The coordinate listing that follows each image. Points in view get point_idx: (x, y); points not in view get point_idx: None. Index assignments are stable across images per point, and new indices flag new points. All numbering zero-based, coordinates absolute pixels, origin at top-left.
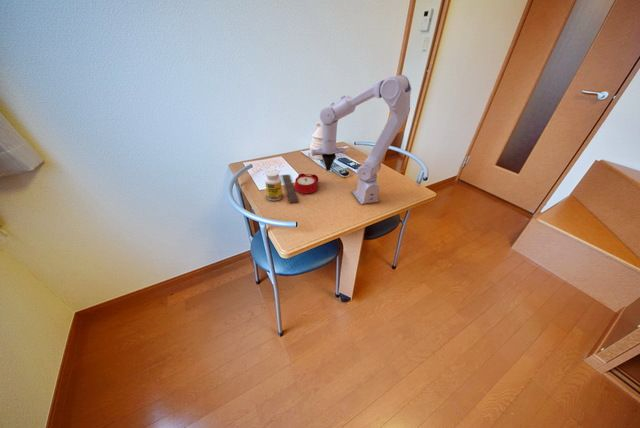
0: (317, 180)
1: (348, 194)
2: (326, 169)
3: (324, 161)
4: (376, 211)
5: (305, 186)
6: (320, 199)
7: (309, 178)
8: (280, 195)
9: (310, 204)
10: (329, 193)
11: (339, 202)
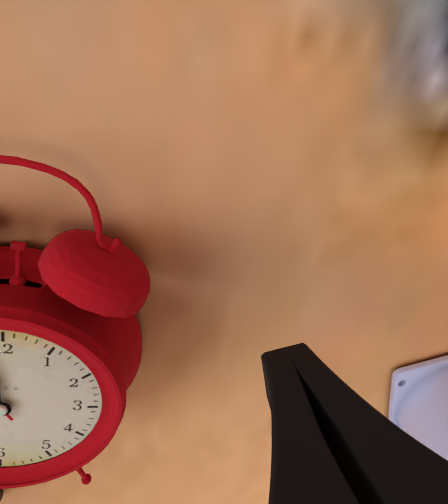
0: (139, 258)
1: (356, 386)
2: (267, 391)
3: (276, 471)
4: None
5: (22, 475)
6: (161, 449)
7: (37, 357)
8: None
9: (95, 494)
10: (232, 388)
11: None
